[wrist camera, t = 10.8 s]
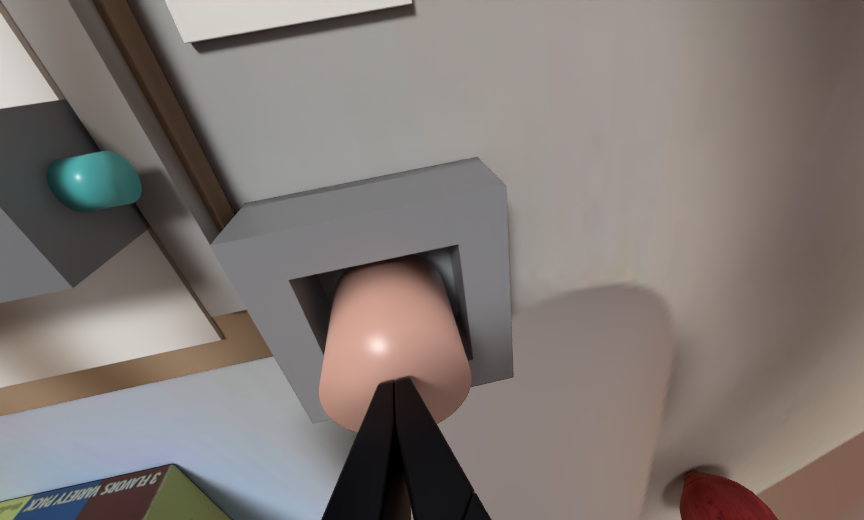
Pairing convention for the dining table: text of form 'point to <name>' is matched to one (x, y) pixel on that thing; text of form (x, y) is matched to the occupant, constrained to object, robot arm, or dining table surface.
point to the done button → (392, 340)
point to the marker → (59, 201)
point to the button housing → (369, 242)
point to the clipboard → (159, 203)
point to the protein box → (120, 500)
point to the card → (260, 14)
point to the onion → (720, 500)
